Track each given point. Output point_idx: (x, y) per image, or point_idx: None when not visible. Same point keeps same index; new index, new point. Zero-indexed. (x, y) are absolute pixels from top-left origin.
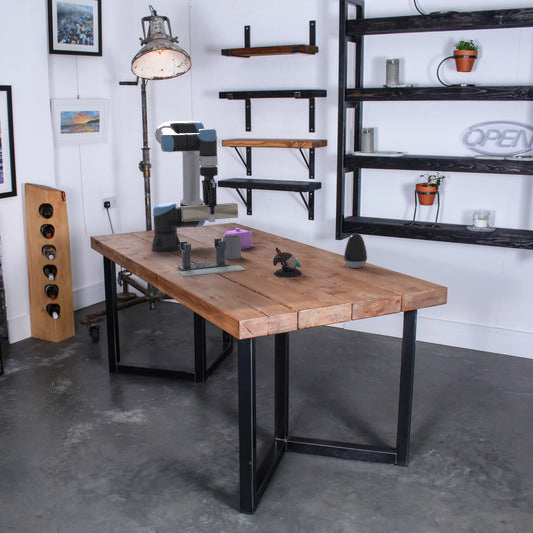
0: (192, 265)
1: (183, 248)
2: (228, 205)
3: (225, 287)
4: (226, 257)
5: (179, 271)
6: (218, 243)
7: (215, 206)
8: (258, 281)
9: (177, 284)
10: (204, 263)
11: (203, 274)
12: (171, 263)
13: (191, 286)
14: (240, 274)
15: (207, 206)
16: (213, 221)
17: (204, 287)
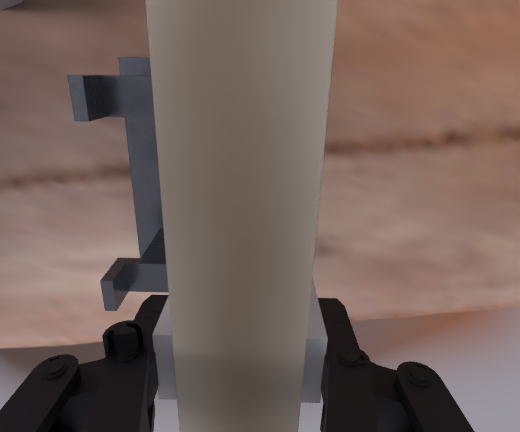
0: (161, 216)
1: (126, 280)
2: (322, 131)
3: (503, 198)
4: (15, 2)
5: None
6: (98, 95)
7: (306, 325)
8: (515, 44)
9: (369, 316)
10: (142, 160)
11: None
12: (55, 258)
13: (418, 288)
14: (360, 69)
15: (297, 414)
16: None
17: (456, 258)
